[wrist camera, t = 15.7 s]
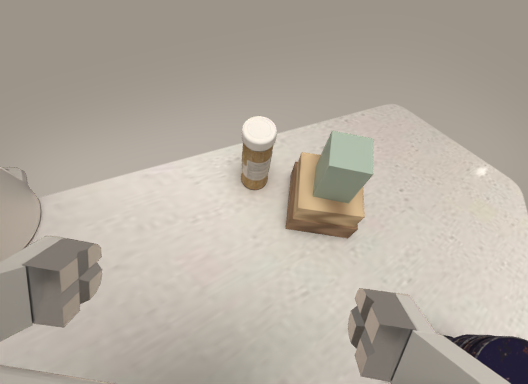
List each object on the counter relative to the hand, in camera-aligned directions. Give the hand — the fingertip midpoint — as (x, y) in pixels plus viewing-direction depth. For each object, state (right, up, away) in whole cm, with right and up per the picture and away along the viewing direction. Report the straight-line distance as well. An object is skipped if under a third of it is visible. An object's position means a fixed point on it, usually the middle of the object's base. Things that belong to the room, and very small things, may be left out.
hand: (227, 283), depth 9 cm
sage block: (+11, +4, +31) cm, 33 cm away
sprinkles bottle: (-1, +5, +40) cm, 40 cm away
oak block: (+10, +2, +35) cm, 36 cm away
